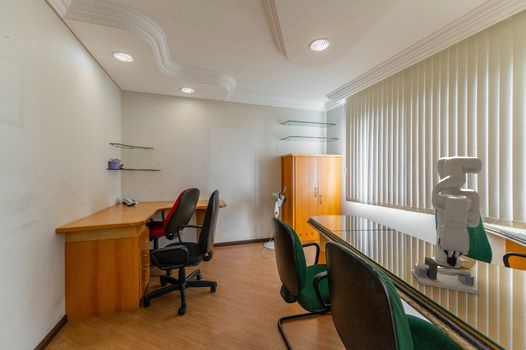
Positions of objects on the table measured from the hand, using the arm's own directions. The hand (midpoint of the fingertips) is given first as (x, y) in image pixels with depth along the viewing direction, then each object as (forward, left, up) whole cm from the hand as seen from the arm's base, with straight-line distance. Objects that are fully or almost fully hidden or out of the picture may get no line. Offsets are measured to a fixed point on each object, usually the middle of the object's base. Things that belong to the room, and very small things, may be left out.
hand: (451, 265), depth 97 cm
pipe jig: (+3, 0, -8) cm, 9 cm away
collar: (+8, 0, -6) cm, 10 cm away
